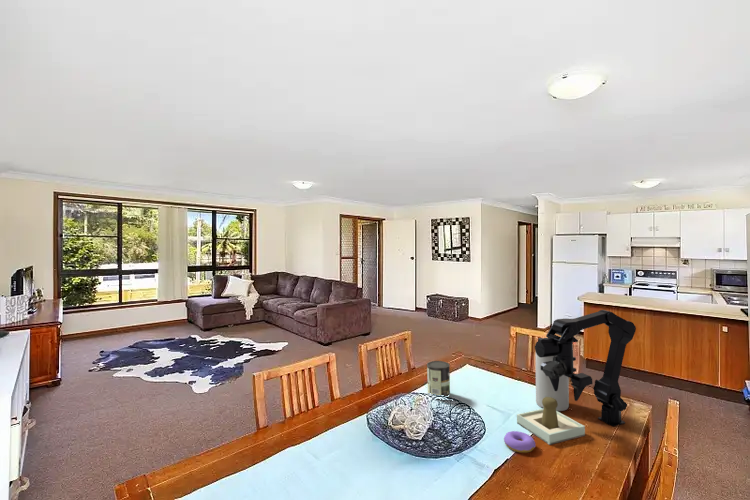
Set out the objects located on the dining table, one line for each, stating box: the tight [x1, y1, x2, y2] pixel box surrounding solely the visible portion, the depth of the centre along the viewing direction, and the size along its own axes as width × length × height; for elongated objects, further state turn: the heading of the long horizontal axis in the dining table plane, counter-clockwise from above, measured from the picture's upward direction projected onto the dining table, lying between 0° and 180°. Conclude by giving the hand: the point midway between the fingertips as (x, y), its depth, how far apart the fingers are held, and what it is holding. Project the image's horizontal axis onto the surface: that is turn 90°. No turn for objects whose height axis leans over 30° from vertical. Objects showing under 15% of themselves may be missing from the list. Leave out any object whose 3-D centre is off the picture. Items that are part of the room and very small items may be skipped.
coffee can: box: [426, 360, 451, 396], centre depth 168 cm, size 10×10×14 cm
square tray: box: [516, 408, 586, 446], centre depth 136 cm, size 16×16×4 cm
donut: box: [503, 430, 536, 454], centre depth 126 cm, size 10×9×5 cm
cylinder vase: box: [534, 350, 570, 412], centre depth 155 cm, size 12×12×25 cm
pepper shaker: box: [541, 397, 559, 430], centre depth 136 cm, size 6×6×11 cm
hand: (565, 395), depth 137 cm, fingers open, 9 cm apart
